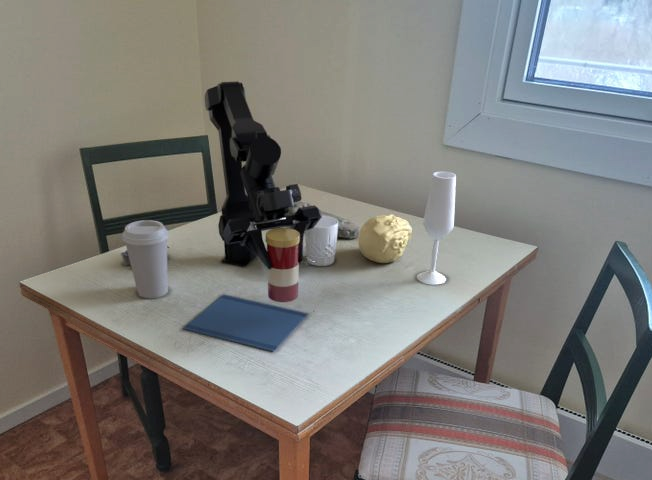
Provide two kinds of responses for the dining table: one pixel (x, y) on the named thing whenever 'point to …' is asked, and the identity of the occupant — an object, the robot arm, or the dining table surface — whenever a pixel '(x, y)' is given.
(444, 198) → the champagne flute
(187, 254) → the dining table surface
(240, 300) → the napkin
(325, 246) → the white cup
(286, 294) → the jam jar
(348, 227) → the elongated rock
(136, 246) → the coffee cup
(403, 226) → the sculpture
